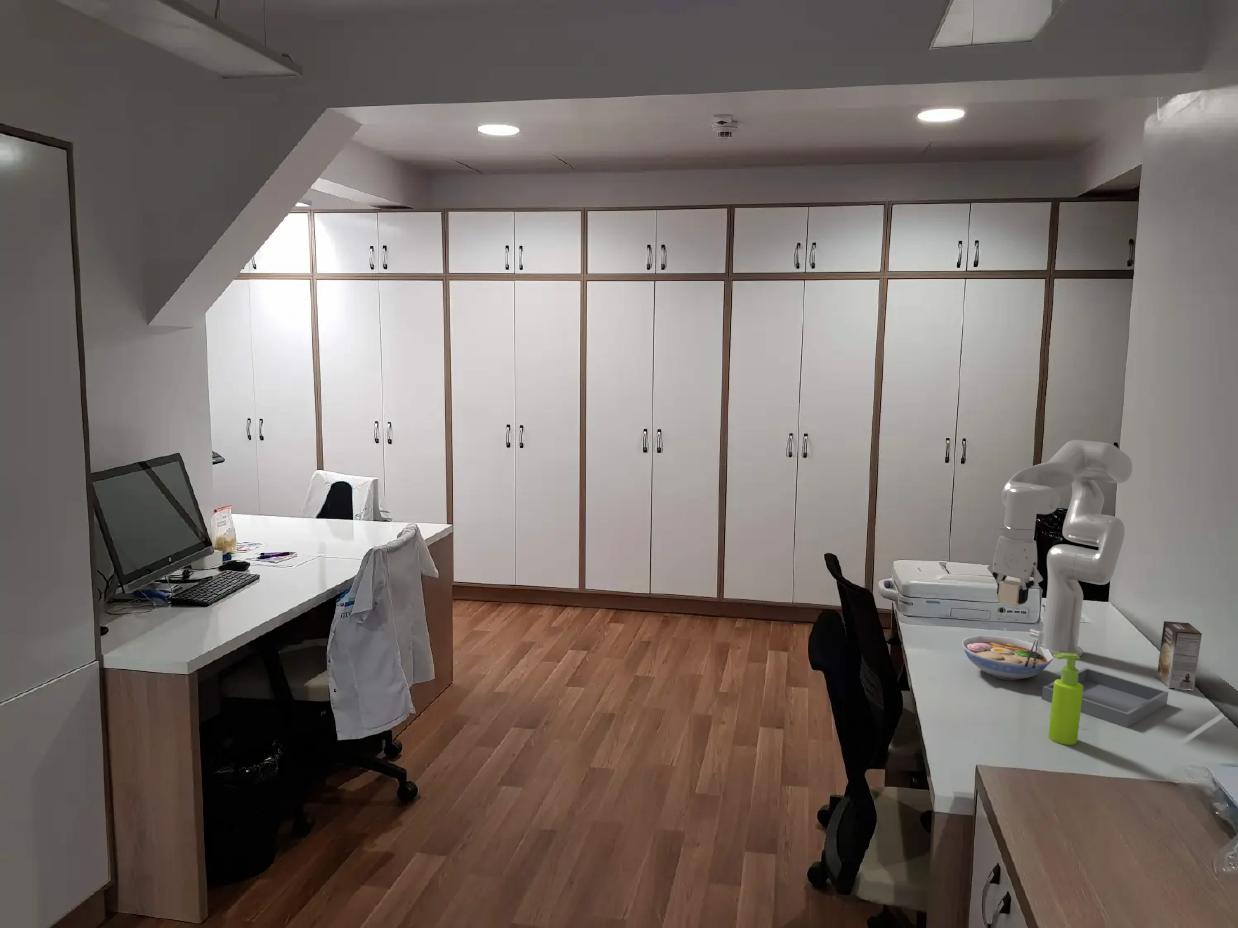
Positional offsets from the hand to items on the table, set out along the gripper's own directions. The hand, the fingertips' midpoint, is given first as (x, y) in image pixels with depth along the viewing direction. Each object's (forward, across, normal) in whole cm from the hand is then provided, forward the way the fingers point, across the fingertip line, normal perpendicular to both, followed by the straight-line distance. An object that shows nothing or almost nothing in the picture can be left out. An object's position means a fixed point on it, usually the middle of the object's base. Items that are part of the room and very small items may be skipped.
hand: (1011, 599), depth 239 cm
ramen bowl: (+21, 0, 0) cm, 21 cm away
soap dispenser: (+21, +28, -28) cm, 45 cm away
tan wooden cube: (+1, 0, 0) cm, 1 cm away
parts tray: (+21, +25, +2) cm, 33 cm away
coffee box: (+21, +30, +34) cm, 50 cm away
